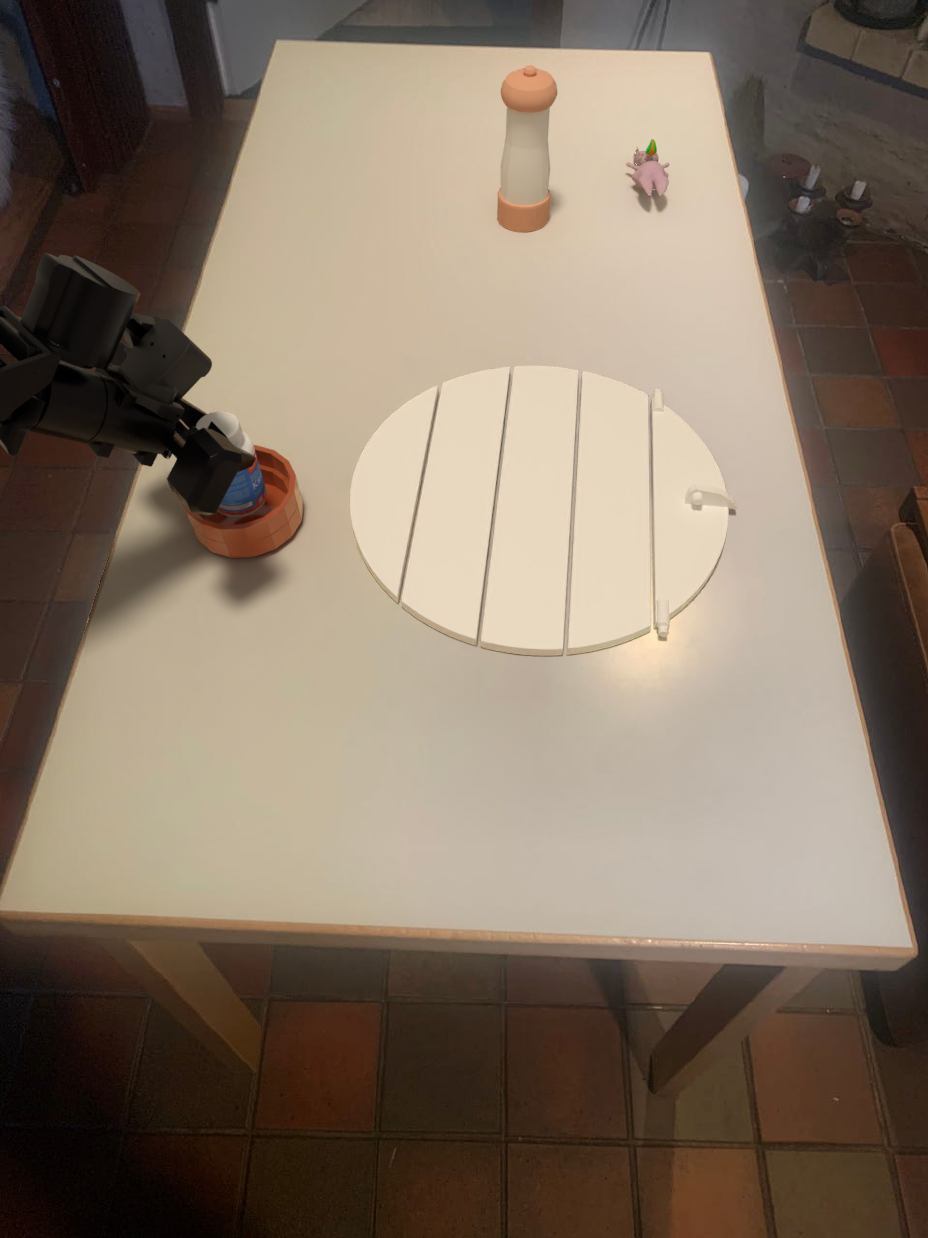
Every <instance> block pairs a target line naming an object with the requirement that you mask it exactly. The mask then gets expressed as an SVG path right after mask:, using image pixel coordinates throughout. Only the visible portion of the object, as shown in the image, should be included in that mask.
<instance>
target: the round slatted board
mask: <svg viewBox="0 0 928 1238" xmlns="http://www.w3.org/2000/svg"><path fill="white" fill-rule="evenodd" d="M579 373H580V371H579V369H575V368H567V367H562V366H561V367H560V366H549V365H515V366H513V371H512V380H511V387H510V397H509V404H508V411H507V412H508V413H507V420H506V421H507V422H506V429H505V436H504V445H503V453H502V461H501V469H500V479H499V487H498V493H497V494H498V495H497V503H496V512H495V518H494V519H495V520H494V527H493V536H492V543H491V552H490V562H489V567H488V569H489V570H488V578H487V585H486V593H485V602H484V611H483V619H482V628H481V635H480V648H483V649H487V650H492V651H494V652H495V651H496V652H500V653H507V654H514V655H523V656H537V657H538V656H539V657H551V656H553V657H555V656H563V653H564V652H563V651H564V641H565V639H564V638H565V622H566V606H567V605H566V604H567V601H566V600H567V586H568V585H567V584H568V571H569V570H568V569H569V568H568V567H569V550H570V535H571V534H570V533H571V517H572V515H571V514H572V499H573V498H572V497H573V496H572V495H573V482H574V481H573V479H574V466H575V465H574V463H575V444H576V429H577V428H576V427H577V410H578V409H577V408H578V391H579ZM510 378H511V366H501V367H494V368H490V369H489V368H488V369H483V370H480V371H475V372H471V373H468V374H463V375H460V376H457V377H454V378H451V379H449V380H445V381H444V382H442V383H441V388H440V391H439V384H437V385H435V386H432V387H430V388H428V389H426V390H424V391H423V392H421V393H419V394H417V395H416V396H414V397H412V398H410V399H409V400H408V401H406V402H404V404H403V405H401V406H400V407H399V408H397V409H396V410H395V411H394V412H392V414H390V415H389V416H388V417H387V418H386V419H385V420H384V421H383V422H382V423H381V424H380V425H379V427H377V429H376V430H375V431H374V433H373V434H372V435H371V436H370V438H369V439H368V441H367V443H366V444H365V446H364V448H363V450H361V451H362V452H361V453H360V455H359V457H358V459H357V462H356V465H355V467H354V470H353V474H352V478H351V483H350V489H349V515H350V522H351V526H352V527H351V528H352V532H353V536H354V540H355V544H356V546H357V549H358V552H359V554H360V556H361V558H362V560H363V562H364V564H365V566H366V568H367V569H368V571H369V572H370V574H371V575H372V577H373V578H374V580H375V581H376V582H377V584H378V585H379V586H380V587H381V588H382V590H383V591H384V592H385V593H386V594H387V595H388V596H389V597H390V598H391V599H392V600H393V601H394V602H395V603H396V604H399V602H400V603H401V608H402V609H403V610H404V611H406V612H407V613H409V614H410V615H411V616H412V617H414V618H416V619H417V620H419V621H420V622H422V623H423V624H425V625H427V626H429V627H430V628H432V629H434V630H435V631H437V632H440V633H442V634H443V635H446V636H448V637H451V638H453V639H455V640H458V641H460V642H464V643H465V644H469V645H472V646H476V647H477V644H478V643H477V642H478V634H479V626H480V619H481V618H480V617H481V610H482V603H483V595H484V593H483V592H484V587H485V586H484V585H485V579H486V571H487V562H488V554H489V546H490V538H491V530H492V522H493V515H494V507H495V506H494V505H495V499H496V498H495V497H496V490H497V483H498V482H497V481H498V475H499V466H500V458H501V451H502V443H503V433H504V426H505V419H506V409H507V402H508V393H509V386H510ZM439 392H440V393H439ZM579 396H580V400H579V414H578V416H579V417H578V418H579V419H578V433H577V435H578V437H577V454H576V470H575V471H576V473H575V492H574V494H575V495H574V510H573V528H572V547H571V566H570V584H569V585H570V586H569V605H568V621H567V622H568V623H567V639H566V655H578V654H585V653H591V652H595V651H600V650H605V649H609V648H611V647H615V646H618V645H621V644H624V643H627V642H630V641H632V640H635V639H636V638H639V637H641V636H643V635H645V634H647V633H649V632H650V629H651V627H652V619H653V630H655V629H658V630H657V631H658V634H657V635H658V636H659V637H660V638H665V637H667V636H668V635H669V630H668V629H669V628H670V625H671V623H670V620H671V619H672V618H673V617H675V616H676V615H678V613H680V612H681V611H682V610H683V609H684V608H686V606H688V605H689V603H691V602H692V600H694V598H695V597H696V596H697V595H698V594H699V593H700V592H701V591H702V589H703V588H704V586H705V585H706V583H707V582H708V580H709V579H710V578H711V575H712V574H713V572H714V570H715V568H716V566H717V564H718V561H719V559H720V556H721V554H722V551H723V549H724V545H725V541H726V538H727V534H728V528H729V527H728V526H729V515H730V514H729V513H730V512H729V509H736V510H737V509H738V503H737V500H736V498H735V497H734V496H732V495H731V494H730V493H728V492H727V488H726V485H725V480H724V478H723V475H722V472H721V470H720V468H719V466H718V464H717V461H716V459H715V457H714V456H713V454H712V452H711V451H710V449H709V448H708V446H707V444H706V443H705V442H704V440H702V438H701V437H700V435H698V433H697V432H696V431H695V430H694V429H693V427H691V426H690V425H689V424H688V423H687V422H686V421H685V420H684V419H683V418H682V417H680V416H679V414H677V413H676V412H675V411H673V410H672V409H671V408H669V407H668V406H666V405H665V403H664V402H665V401H664V392H663V391H662V389H661V388H655V389H654V390H653V394H652V397H651V399H650V407H649V395H648V394H647V393H646V392H643V391H642V390H639V389H638V388H636V387H633V386H631V385H629V384H626V383H625V382H622V381H619V380H615V379H614V378H610V377H608V376H605V375H601V374H598V373H594V372H590V371H585V370H582V371H581V379H580V395H579ZM437 403H438V404H437ZM436 408H437V409H436ZM649 410H650V415H649ZM435 413H436V414H435ZM649 416H650V417H649ZM434 418H435V420H434ZM649 421H650V422H649ZM649 423H650V424H649ZM649 425H650V426H649ZM649 427H650V428H649ZM649 434H650V435H649ZM431 435H432V436H431ZM429 444H430V447H429ZM428 450H429V452H428ZM427 455H428V457H427ZM650 471H651V472H650ZM424 472H425V474H424ZM650 475H651V477H650ZM423 476H424V478H423ZM650 479H651V495H650ZM422 480H423V481H422ZM421 486H422V487H421ZM420 492H421V493H420ZM419 496H420V498H419ZM650 496H651V505H650ZM418 502H419V504H418ZM417 507H418V509H417ZM650 507H651V509H650ZM416 512H417V514H416ZM650 512H651V513H650ZM415 517H416V519H415ZM650 519H651V520H650ZM414 524H415V525H414ZM413 529H414V530H413ZM412 534H413V536H412ZM411 539H412V541H411ZM410 543H411V546H410ZM651 543H652V544H651ZM651 546H652V548H651ZM651 549H652V551H651ZM409 550H410V551H409ZM651 552H652V553H651ZM408 554H409V556H408ZM651 555H652V581H651ZM407 559H408V561H407ZM406 565H407V567H406ZM405 570H406V572H405ZM404 575H405V577H404ZM403 580H404V581H403ZM403 582H404V583H403ZM651 582H652V584H651ZM402 585H403V588H402ZM651 585H652V590H651ZM401 591H402V593H401ZM400 596H401V599H400ZM652 614H653V615H652ZM652 616H653V617H652Z"/></svg>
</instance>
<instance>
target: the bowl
mask: <svg viewBox="0 0 928 1238" xmlns="http://www.w3.org/2000/svg"><path fill="white" fill-rule="evenodd" d="M253 445H254V448H255V452H256V455H257V459H258V463H259V466H260V470H261V473H262V477H263V481H264V484H265V488H266V493H267V495H266V500H265V503H264V504H263V506H262V507H261V508H260V509H259V510H258V511H257V512H255V513H254V514H252V515H249V516H246V517H241V518H232V517H227V516H224V515H222V514H221V513H219V512H218V511H216V513H215V514H212V515H204V514H197V513H191V512H190V511H189V509H188V508H187V507H186V506H185V505H184V504H183V503H182V506H183V509H184V511H185V513H186V516H187V518H188V520H189V523H190V525H191V528H192V529H193V532H194V535H195V537H196V539H197V540H198V542H200V543H201V545H203V546H204V547H205V548H207V549H208V550H209V551H210V552H212V553H215V554H217V555H221V556H224V557H227V558H233V559H235V558H254V557H257V556H260V555H263V554H266V553H269V552H272V551H275V550H276V549H278V548H279V547H280V546H282V545H283V544H285V543H286V542H287V541H288V540H290V539H291V538H292V537H293V535H294V534H295V533H296V531H297V529H298V528H299V525H301V522H302V521H303V510H304V503H303V498H302V494H301V490H300V487H299V483H298V478H297V475H296V473H295V470H294V469H293V466H292V465H291V462H290V461H289V459H287V458H286V457H284V456H283V455H282V454H280V453H279V452H278V451H277V450H275V449H272V448H268V447H264V446H261V445H256V444H253Z"/></svg>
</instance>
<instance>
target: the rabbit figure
mask: <svg viewBox="0 0 928 1238" xmlns="http://www.w3.org/2000/svg"><path fill="white" fill-rule="evenodd" d="M635 152H636V154H635V153H634V154H633V156H632V158H633V164H632V163H631V162H629V161H628V162H626V163H625V166H626V167H628V168H631V169H633V170H635V171H634V172H633V173H632V174H631V180H632V181H633V183H635V184H636V185H637V187H639V188H641V189H642V188H643V189H642V190H644V192H645V193H646V195H647V196H648V197H651V196H652V194H653V191H656V192H657V194H658V196H659V197H662V196H663V195H664V193H665V192H666V191H667V188H668V187H669V183H670V181H669V174H668V173H667V172H666V170H665V169H666V168H668V167H670V163H669V162H665V163H664V164H661V163H660V162H659V154H658V153H657V152H658V148H657V144H656V140H655V139H653V138H652V139H651V140H650V141H649V144H648V145H647V148H646V149H645V150H640V149H639V148H638V146H636V149H635ZM635 163H636V164H637V165H636V164H635ZM653 189H655V190H653Z"/></svg>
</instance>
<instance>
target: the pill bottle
mask: <svg viewBox="0 0 928 1238" xmlns="http://www.w3.org/2000/svg"><path fill="white" fill-rule="evenodd" d="M211 421H212V422H213V423H214V424H215V425H216V426H217V427H218V428H219V429H220V430H221V431H222V432H223V433H224V434H225V435H226V436H227V438H228V440H229V441H230V442H231V443H232V444H233V445H234V446H236V447H238V448H240V449H242V450H245V451H247V452H248V453H250V454H252V455H254V456H255V457H256V460H255V462H254V464H253V465H252V467H250V468H247V469H245V470H242V471H240V472H237V474H236V476H235V478H234V480H233V482H232V484H231V485H230V487H229V489H228V491H227V493H226V495H225V496H224V498H223V500H222V502H221V504H220V506H219V508H218V509H217V511H218V512H219V513H221V514H222V515H224V516H227V517H232V518H241V517H246V516H249V515H252V514H254V513H255V512H257V511H258V510H259V509H260V508H261V507H262V506H263V504H264V503H265V500H266V495H267V493H266V488H265V484H264V481H263V477H262V473H261V470H260V466H259V463H258V459H257V455H256V452H255V448H254V445H255V444H254V442H253V440H252V438H251V437H250V435H249V434H248V433H247V432H245V431H243V429H242V426H241V423H240V421H239V419H238V417H237V416H236V415H235V414H233V413H232V412H228V411H222V410H220V411H213V412H210V413H207V415H205V416H203V417H202V418H201V419H200V420H199V421H198V422H197V424H196V427H198V428H199V429H201V428H208V426H209V424H210V422H211Z"/></svg>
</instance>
